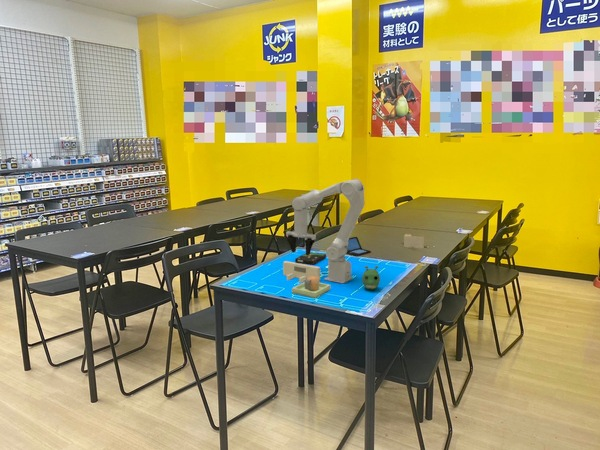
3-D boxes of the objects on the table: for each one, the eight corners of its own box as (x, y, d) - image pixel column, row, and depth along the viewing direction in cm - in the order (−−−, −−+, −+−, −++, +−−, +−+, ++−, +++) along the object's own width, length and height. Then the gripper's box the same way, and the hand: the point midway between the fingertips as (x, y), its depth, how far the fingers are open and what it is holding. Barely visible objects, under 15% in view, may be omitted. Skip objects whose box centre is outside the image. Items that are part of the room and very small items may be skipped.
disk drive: (313, 266, 217) (326, 258, 229) (313, 261, 216) (326, 253, 229) (294, 263, 221) (308, 256, 234) (294, 258, 221) (308, 251, 233)
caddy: (321, 288, 182) (321, 276, 181) (311, 293, 176) (311, 281, 175) (311, 286, 184) (311, 274, 183) (301, 291, 178) (301, 279, 178)
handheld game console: (356, 257, 232) (356, 243, 230) (341, 253, 239) (341, 239, 238) (371, 252, 240) (372, 239, 238) (356, 249, 248) (356, 236, 246)
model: (404, 246, 255) (404, 233, 253) (423, 247, 252) (424, 234, 250) (403, 247, 252) (404, 234, 250) (423, 249, 249) (424, 235, 247)
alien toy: (361, 292, 179) (362, 268, 177) (362, 285, 186) (362, 262, 185) (379, 293, 178) (380, 268, 176) (379, 286, 185) (380, 263, 183)
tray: (330, 289, 182) (330, 284, 182) (315, 298, 172) (315, 293, 172) (307, 284, 188) (307, 280, 188) (292, 293, 178) (292, 288, 178)
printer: (320, 280, 193) (320, 267, 192) (311, 285, 188) (311, 271, 186) (285, 273, 203) (285, 261, 202) (276, 277, 197) (276, 264, 196)
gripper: (282, 223, 199) (282, 253, 202) (309, 227, 192) (309, 257, 194) (291, 220, 205) (291, 249, 208) (318, 224, 197) (318, 254, 200)
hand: (300, 253), depth 201 cm, fingers open, 7 cm apart
